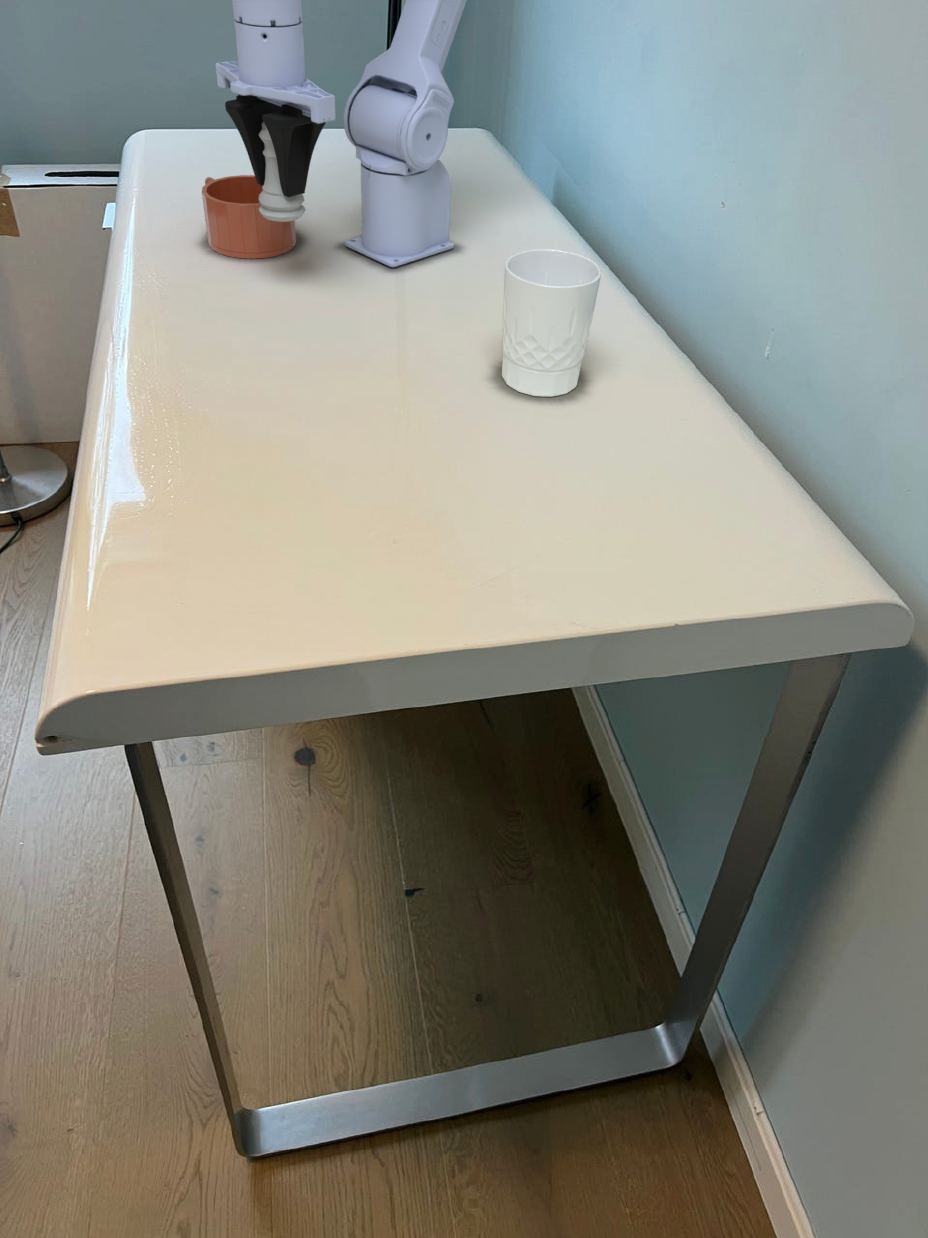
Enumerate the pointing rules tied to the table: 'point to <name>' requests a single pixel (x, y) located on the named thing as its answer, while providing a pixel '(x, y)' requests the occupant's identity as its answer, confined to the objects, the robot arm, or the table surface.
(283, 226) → the mug
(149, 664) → the table surface
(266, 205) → the rook chess piece
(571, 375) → the white cup
